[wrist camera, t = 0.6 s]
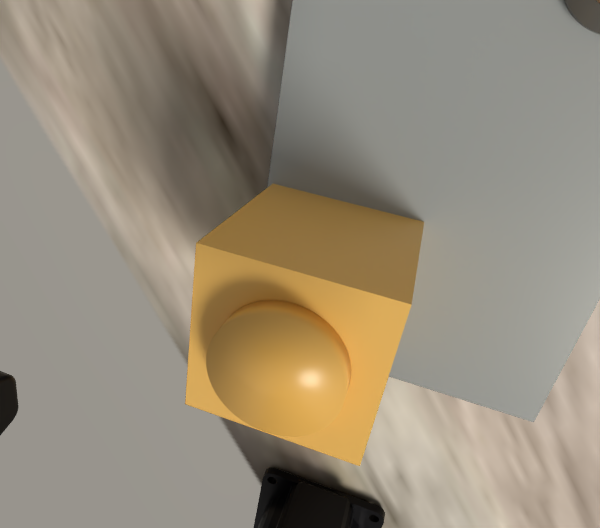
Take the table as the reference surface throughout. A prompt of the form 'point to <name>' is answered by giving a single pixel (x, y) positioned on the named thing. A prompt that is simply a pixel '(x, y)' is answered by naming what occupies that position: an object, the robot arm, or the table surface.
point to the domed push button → (301, 317)
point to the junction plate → (461, 172)
